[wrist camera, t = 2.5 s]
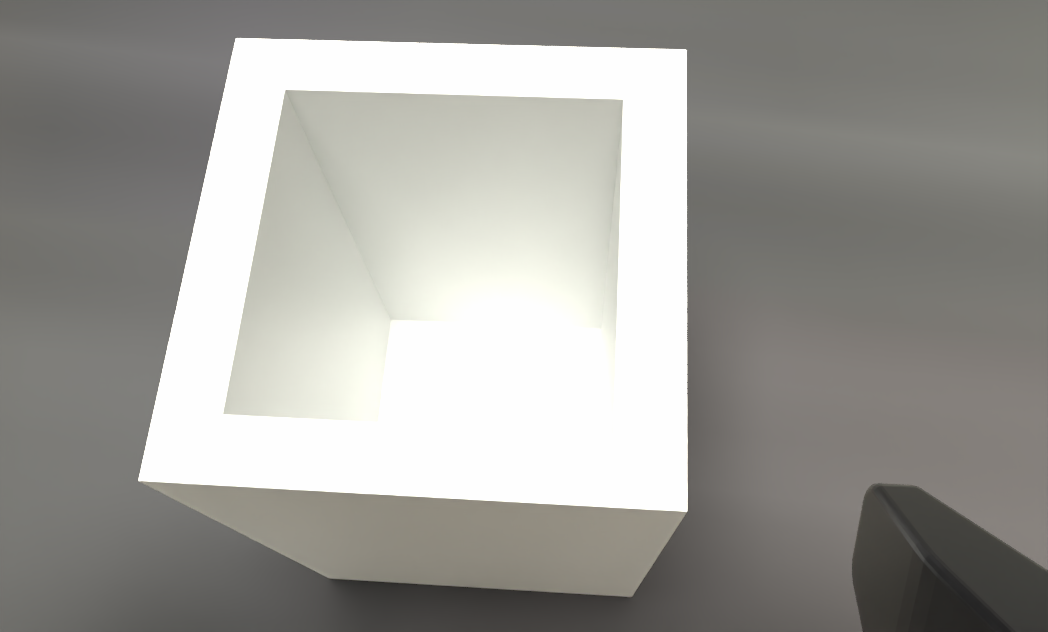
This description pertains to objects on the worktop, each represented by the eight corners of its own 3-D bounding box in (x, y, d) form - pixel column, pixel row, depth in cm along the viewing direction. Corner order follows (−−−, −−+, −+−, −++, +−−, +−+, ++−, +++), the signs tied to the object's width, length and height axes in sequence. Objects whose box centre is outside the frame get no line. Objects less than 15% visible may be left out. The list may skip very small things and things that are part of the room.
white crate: (631, 596, 18) (686, 510, 10) (329, 578, 19) (138, 480, 10) (637, 313, 21) (686, 49, 12) (367, 301, 21) (235, 38, 13)
